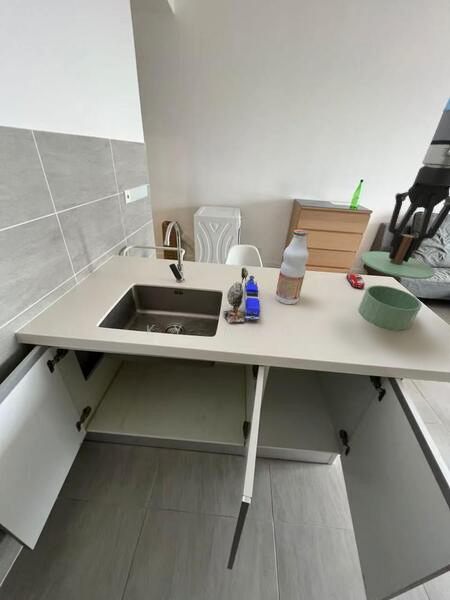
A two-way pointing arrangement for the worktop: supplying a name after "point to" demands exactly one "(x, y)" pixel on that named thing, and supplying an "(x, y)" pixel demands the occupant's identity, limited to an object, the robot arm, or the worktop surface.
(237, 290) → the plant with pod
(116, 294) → the worktop surface
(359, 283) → the race car
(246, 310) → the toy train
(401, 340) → the worktop surface
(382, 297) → the tin
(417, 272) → the tin lid
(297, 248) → the fruit juice
